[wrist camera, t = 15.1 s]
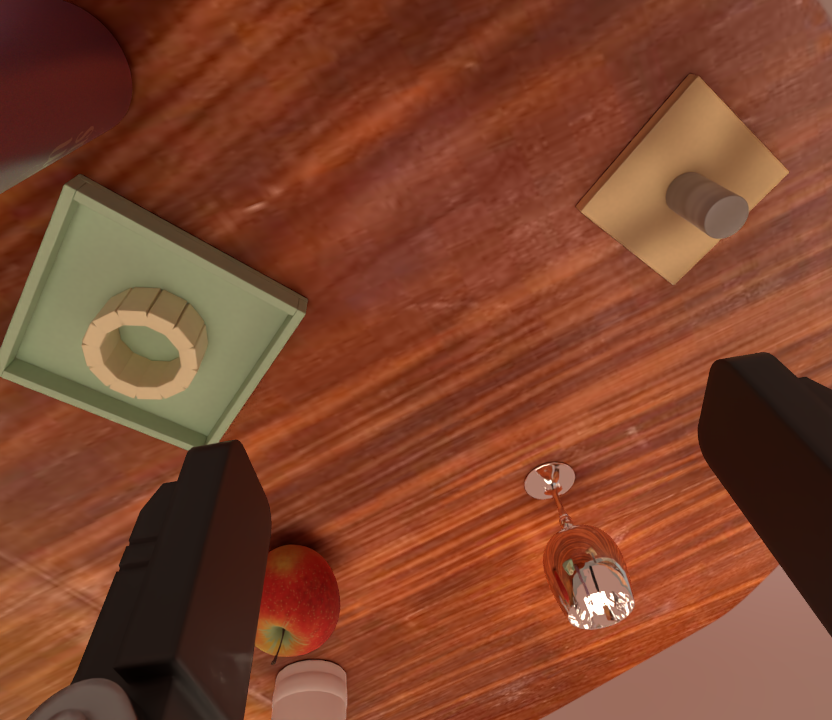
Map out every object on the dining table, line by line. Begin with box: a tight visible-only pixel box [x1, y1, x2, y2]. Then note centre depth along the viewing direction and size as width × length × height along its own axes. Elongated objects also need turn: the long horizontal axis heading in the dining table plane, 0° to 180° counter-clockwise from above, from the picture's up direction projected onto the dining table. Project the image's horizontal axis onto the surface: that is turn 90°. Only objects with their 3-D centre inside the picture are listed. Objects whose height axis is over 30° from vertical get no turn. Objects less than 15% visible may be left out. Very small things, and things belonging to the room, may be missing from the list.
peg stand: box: [576, 74, 789, 285], centre depth 32 cm, size 9×9×6 cm
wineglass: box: [524, 462, 635, 629], centre depth 43 cm, size 6×6×12 cm
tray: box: [0, 174, 308, 451], centre depth 35 cm, size 14×14×2 cm
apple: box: [255, 545, 340, 665], centre depth 46 cm, size 8×8×10 cm
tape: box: [81, 287, 208, 400], centre depth 34 cm, size 6×6×3 cm
